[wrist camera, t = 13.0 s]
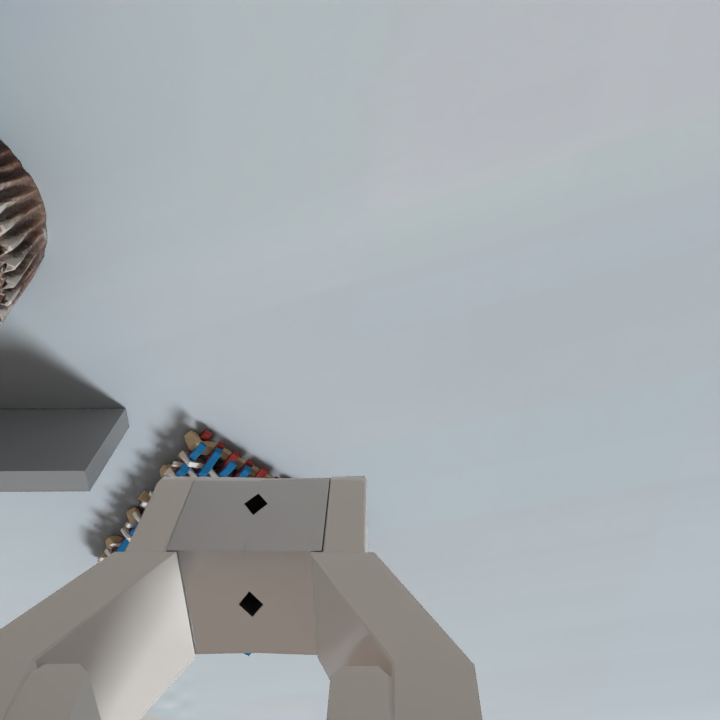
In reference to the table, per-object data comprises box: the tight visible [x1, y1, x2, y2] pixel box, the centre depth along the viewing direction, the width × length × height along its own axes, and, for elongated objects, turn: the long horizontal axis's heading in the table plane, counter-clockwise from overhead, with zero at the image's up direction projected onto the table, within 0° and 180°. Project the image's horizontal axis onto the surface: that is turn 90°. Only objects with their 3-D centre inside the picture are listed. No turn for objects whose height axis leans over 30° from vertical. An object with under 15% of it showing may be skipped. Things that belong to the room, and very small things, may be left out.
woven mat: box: [98, 430, 278, 656], centre depth 35 cm, size 10×11×2 cm
